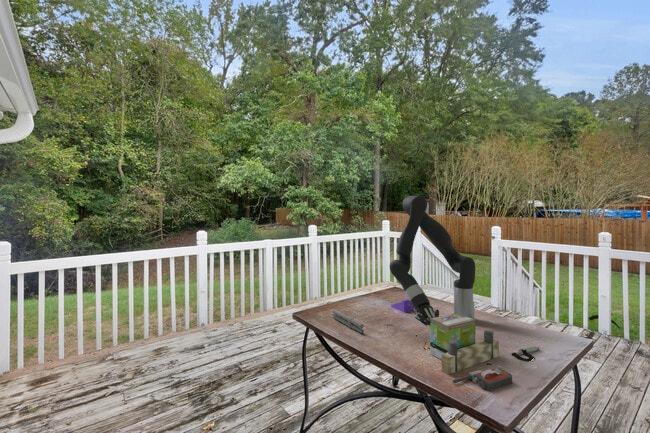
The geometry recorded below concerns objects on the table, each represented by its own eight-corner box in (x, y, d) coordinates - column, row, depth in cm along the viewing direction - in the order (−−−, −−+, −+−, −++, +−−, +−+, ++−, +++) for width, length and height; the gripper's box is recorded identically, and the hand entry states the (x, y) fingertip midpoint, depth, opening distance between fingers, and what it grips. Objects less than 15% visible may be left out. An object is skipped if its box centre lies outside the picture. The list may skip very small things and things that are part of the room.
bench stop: (491, 353, 130) (491, 328, 130) (499, 356, 127) (499, 331, 127) (441, 370, 117) (441, 343, 117) (448, 374, 114) (448, 346, 114)
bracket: (413, 311, 184) (413, 299, 184) (404, 313, 181) (404, 301, 181) (400, 305, 195) (400, 294, 195) (390, 307, 192) (390, 295, 192)
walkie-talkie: (494, 371, 116) (450, 384, 109) (494, 359, 116) (450, 371, 109) (516, 384, 108) (471, 398, 101) (516, 371, 108) (471, 384, 101)
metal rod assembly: (332, 318, 173) (332, 309, 173) (336, 317, 175) (336, 308, 175) (360, 335, 151) (360, 324, 151) (365, 333, 152) (364, 323, 152)
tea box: (449, 364, 121) (449, 325, 121) (429, 354, 130) (429, 317, 130) (476, 355, 128) (476, 318, 128) (455, 346, 137) (455, 311, 137)
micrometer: (526, 364, 121) (526, 357, 121) (509, 356, 128) (509, 349, 128) (552, 356, 127) (553, 350, 127) (535, 349, 134) (535, 343, 133)
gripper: (410, 294, 141) (431, 331, 131) (432, 290, 147) (454, 325, 137) (402, 303, 146) (422, 340, 136) (423, 299, 152) (444, 333, 142)
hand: (438, 332), depth 136 cm, fingers closed
